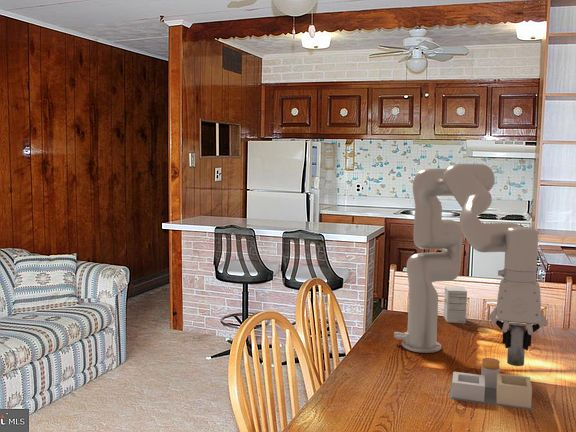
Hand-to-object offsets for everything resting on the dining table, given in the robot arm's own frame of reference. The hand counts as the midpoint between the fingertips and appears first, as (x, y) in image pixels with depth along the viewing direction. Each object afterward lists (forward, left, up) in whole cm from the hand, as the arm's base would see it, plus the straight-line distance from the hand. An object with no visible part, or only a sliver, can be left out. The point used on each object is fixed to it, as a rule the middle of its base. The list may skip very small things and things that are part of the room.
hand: (516, 346), depth 150 cm
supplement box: (-18, +77, -16) cm, 81 cm away
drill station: (-6, +3, -15) cm, 17 cm away
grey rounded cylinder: (0, 0, -4) cm, 4 cm away
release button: (-6, +9, -13) cm, 17 cm away
